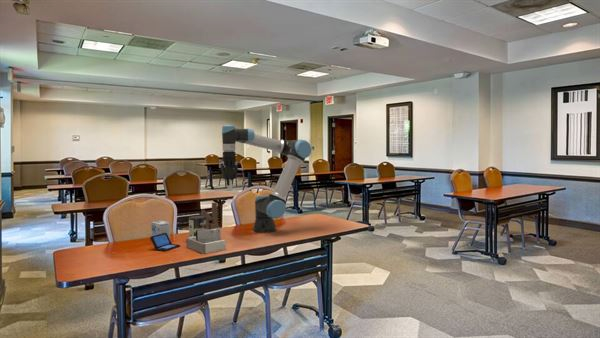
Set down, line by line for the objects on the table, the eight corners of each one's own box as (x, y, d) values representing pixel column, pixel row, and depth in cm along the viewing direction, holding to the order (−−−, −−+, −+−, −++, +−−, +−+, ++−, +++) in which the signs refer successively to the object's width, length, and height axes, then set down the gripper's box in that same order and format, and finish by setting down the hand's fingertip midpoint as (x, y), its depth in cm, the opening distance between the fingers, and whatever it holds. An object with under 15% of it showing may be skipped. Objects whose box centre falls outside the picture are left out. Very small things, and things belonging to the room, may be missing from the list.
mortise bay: (208, 242, 225) (208, 234, 225) (225, 249, 210) (225, 240, 209) (186, 246, 216) (186, 238, 216) (202, 253, 201) (202, 244, 201)
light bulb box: (151, 239, 236) (151, 221, 236) (161, 237, 241) (161, 220, 241) (160, 242, 229) (159, 223, 229) (170, 239, 234) (170, 222, 233)
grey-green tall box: (210, 238, 236) (209, 215, 235) (201, 242, 226) (200, 218, 225) (195, 237, 239) (194, 214, 238) (185, 241, 229) (185, 217, 228)
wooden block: (201, 230, 261) (201, 203, 260) (216, 227, 268) (215, 202, 267) (204, 231, 258) (203, 204, 257) (218, 228, 265) (218, 202, 264)
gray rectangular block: (220, 245, 220) (220, 227, 219) (222, 247, 215) (222, 229, 214) (195, 247, 214) (195, 229, 213) (197, 250, 209) (196, 231, 208)
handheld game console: (165, 252, 207) (164, 238, 206) (149, 250, 211) (149, 236, 211) (181, 246, 218) (181, 233, 218) (166, 245, 222) (166, 232, 222)
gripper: (222, 151, 223) (223, 192, 224) (241, 151, 231) (242, 190, 232) (216, 151, 228) (217, 191, 229) (235, 151, 237) (236, 189, 238)
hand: (229, 190), depth 231 cm, fingers closed
